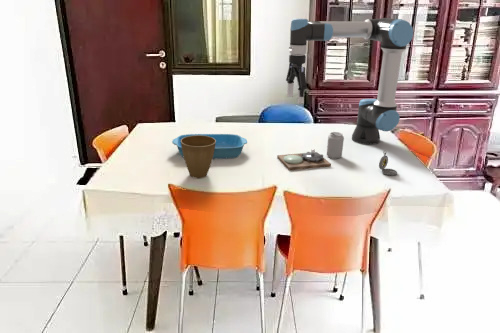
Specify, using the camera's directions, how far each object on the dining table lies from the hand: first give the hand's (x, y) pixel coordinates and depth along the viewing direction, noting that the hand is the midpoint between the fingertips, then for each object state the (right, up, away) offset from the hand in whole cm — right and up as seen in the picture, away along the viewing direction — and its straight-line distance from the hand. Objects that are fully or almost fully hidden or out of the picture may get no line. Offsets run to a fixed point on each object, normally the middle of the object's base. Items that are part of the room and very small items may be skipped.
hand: (295, 100), depth 205 cm
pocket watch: (+41, -34, -8) cm, 54 cm away
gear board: (+4, -30, +2) cm, 30 cm away
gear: (+8, -28, +2) cm, 29 cm away
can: (+20, -27, +10) cm, 35 cm away
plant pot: (-44, -35, -15) cm, 58 cm away
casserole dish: (-41, -25, +11) cm, 49 cm away
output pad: (-1, -29, 0) cm, 29 cm away
